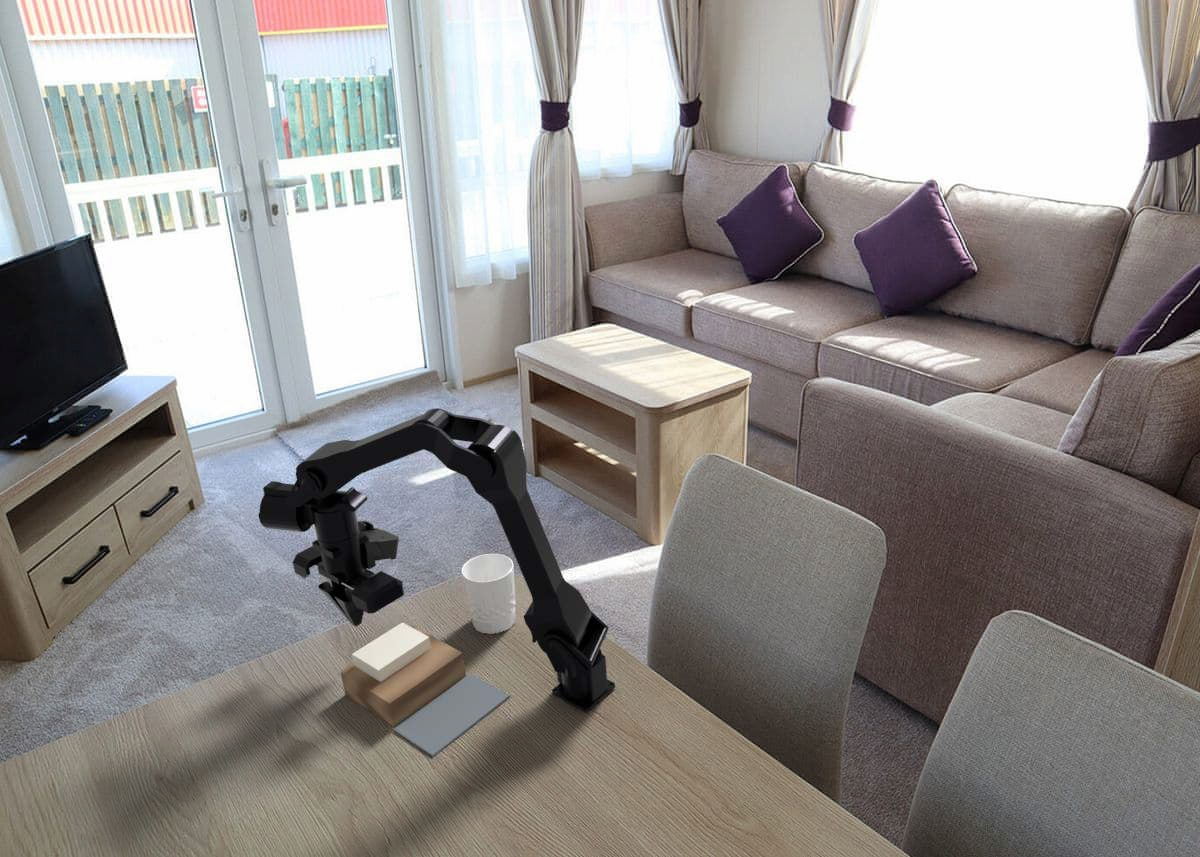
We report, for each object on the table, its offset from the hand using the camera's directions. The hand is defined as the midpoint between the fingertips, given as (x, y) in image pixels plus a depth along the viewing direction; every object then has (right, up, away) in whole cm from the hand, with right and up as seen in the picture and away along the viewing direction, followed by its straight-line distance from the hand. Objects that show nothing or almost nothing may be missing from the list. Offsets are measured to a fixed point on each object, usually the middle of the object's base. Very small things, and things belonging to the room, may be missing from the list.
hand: (357, 624), depth 135 cm
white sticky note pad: (+6, -4, -4) cm, 8 cm away
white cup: (+19, -2, +9) cm, 21 cm away
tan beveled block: (+8, -8, -3) cm, 12 cm away
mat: (+16, -10, -10) cm, 21 cm away
